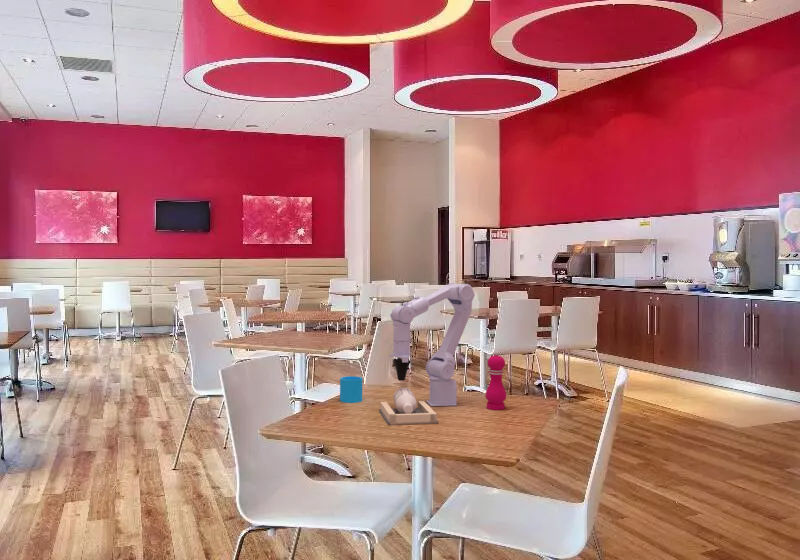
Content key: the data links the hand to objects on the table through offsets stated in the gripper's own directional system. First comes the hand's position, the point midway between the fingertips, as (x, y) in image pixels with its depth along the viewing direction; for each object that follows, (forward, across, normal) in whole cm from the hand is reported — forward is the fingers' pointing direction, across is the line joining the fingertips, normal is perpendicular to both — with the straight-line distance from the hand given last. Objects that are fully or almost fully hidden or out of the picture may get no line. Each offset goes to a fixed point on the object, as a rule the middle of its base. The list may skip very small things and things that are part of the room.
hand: (401, 380), depth 235 cm
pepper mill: (+10, +3, +33) cm, 35 cm away
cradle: (+10, +12, 0) cm, 16 cm away
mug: (+10, -18, -15) cm, 26 cm away
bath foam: (+6, 0, +1) cm, 6 cm away
